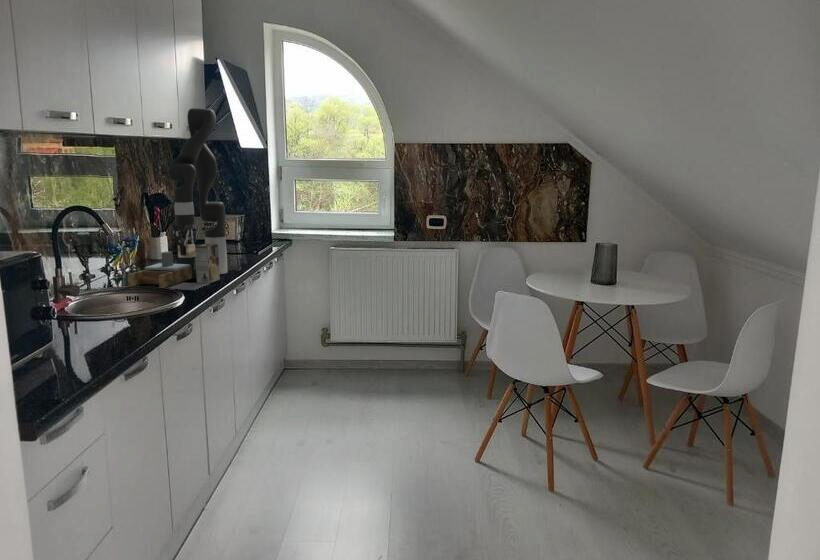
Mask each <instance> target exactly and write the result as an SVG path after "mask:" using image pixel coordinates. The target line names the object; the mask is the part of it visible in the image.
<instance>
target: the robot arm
mask: <svg viewBox="0 0 820 560" xmlns="http://www.w3.org/2000/svg"><path fill="white" fill-rule="evenodd" d="M187 124H188V125H187V126H188V129H189V135H190V137H189V138H188V139H187V140H186V141H185V142H184V143H183V145H182V148H181V150H180V152H179V155H177V156H176V157H175V159H174V160H173V161H172V162H171V163H170V165H169V166H168V170H167V175H168V177H169V179H170V180H171V181H173V182H184V183H183V185H182V186H179V187H176V188H175V189H174V191H173V195H174V219H175V222H174V223H175V225H176V226H178V229H177V231H176V230H175V231H173V234H174V235H173V236H174V240H175V244H176V246H178V245H179V246H180V254H181V255H182V256H185V255H186V244H195V243H196V242H197V231H198V229H197V228H194V227H193V226H194V225H195V224H196V219H195V206H194V195H193V191H194V185H195V181H196V182H197V190H198V203H199V214H200V218H201V220H202V222H205V223H216V225H215V226H214V227H211V228H209V229H206V230H204V244H218V256H219V273H220V275H223V274H228V272H229V271H228V254H227V253H228V252H227V239H226V237H227V236H226V234H227V233H226V206H225V204H224V202H222V201H209V200H208V196H209V192H210V189H211V188H212V186H213V184H214V183H215V181H216V179H217V177H218V168H217V167H218V166H217V159H216V157H215V155H214V154H213V152H212V151H211V150H210V148H209V147H208V146H207V144H206V142H207V141H208V139H209V137H210V136H211V134H212V133H213V131H214V129H215V128H216V125H217V116H216V113H215V111H214V110H213V109H209V108H197V107H196V108H194V107H191V108H189V110H188V111H187Z"/></svg>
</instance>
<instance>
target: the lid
mask: <svg viewBox="0 0 820 560" xmlns="http://www.w3.org/2000/svg"><path fill="white" fill-rule="evenodd" d="M160 256H161V257H160V258H161V262H158V263H155V264H152V265H148V266H144V270H170V271H178V270H181V269H184V268H187V267H190V266H191V264H190V263H189V264H188V263H187V264H186V263H174V255H173V251H164V252H160Z"/></svg>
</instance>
